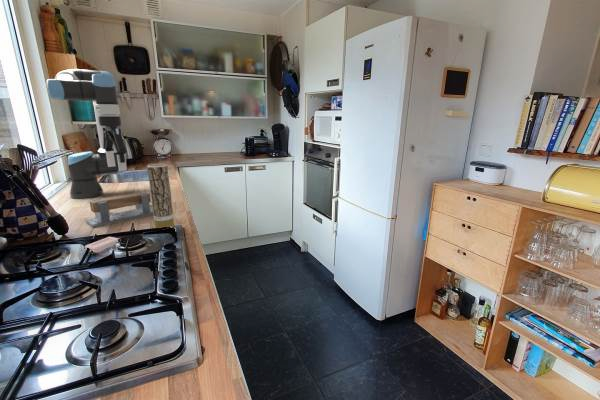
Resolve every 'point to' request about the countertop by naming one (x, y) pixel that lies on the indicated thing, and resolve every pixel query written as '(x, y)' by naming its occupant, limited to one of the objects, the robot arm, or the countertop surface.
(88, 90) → the robot arm
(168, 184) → the bark textured post
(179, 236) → the countertop surface
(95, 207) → the walnut rail
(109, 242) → the soap bar
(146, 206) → the cup bracket
